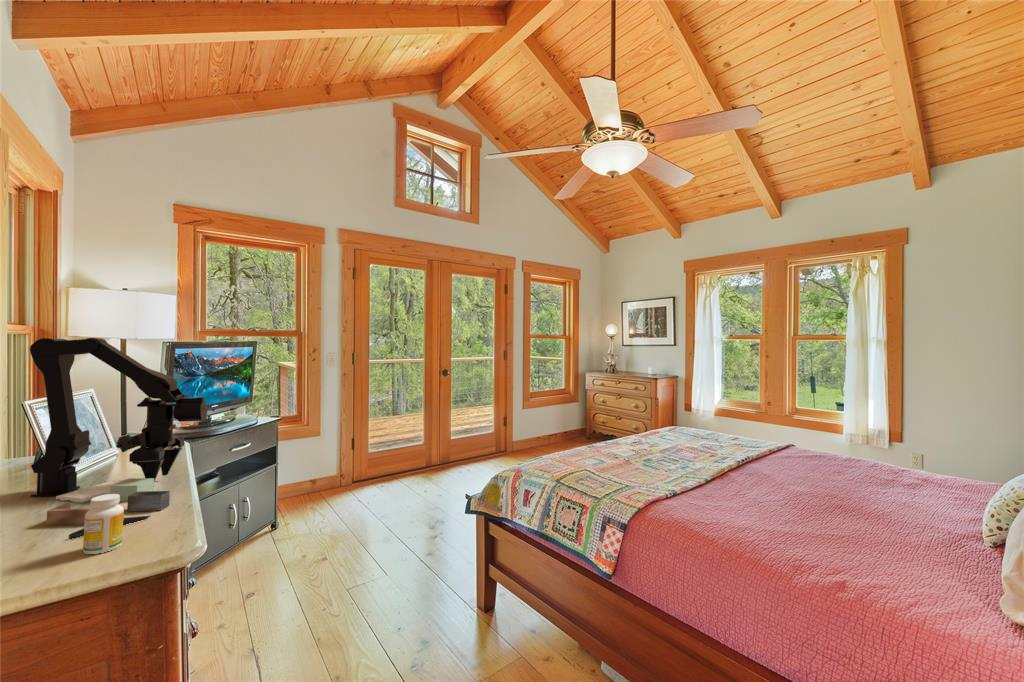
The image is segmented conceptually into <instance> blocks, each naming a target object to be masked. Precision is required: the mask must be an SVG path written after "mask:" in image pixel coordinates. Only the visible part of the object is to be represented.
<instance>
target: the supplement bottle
mask: <svg viewBox="0 0 1024 682" xmlns="http://www.w3.org/2000/svg"><path fill="white" fill-rule="evenodd" d="M120 502H121V501H120V495H119V494H106V495H101V496H97V497H94V498H92V499H91V500H90V508H92V509H91V510H89V511H88V512H87V513H86V514H85V522H84V524H83V525H84V527H83V528H84V536H83V542H82V552H83V553H84V554H85V555H88V554H95V555H100V554H99V553H101V554H105V553H104V552H106V553H108V552H107V551H109V552H112V551H115V550H116V549H118V548H120V547H121V545H122V544H123V535H124V534H123V533H124V532H123V530H124V529H123V528H124V526H123V520H124V519H123V518H124V516H125V514H124V513H125V512H124V510H125V509H124V507H123V506H122V505H120V504H119V503H120ZM119 546H120V547H119ZM111 550H112V551H111Z"/></svg>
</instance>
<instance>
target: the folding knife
mask: <svg viewBox="0 0 1024 682" xmlns="http://www.w3.org/2000/svg"><path fill="white" fill-rule="evenodd" d="M149 518H151V515H142V516H131V517H123V525H125V526H127V525H126V524H129V523H133V524H135V523H134V522H137V521H141V520H144V521H146V520H148V519H149ZM145 519H146V520H145ZM141 522H142V521H141ZM137 523H138V522H137ZM129 525H130V524H129ZM83 535H84V527H83V528H81V529H79V530H76V531H74V532H72V533H69V534H68V540H69V539H71V540H73V539H72V538H74V539H77V538H76V537H78V538H81V537H80V536H82V537H84V536H83Z"/></svg>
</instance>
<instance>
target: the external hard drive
mask: <svg viewBox="0 0 1024 682" xmlns="http://www.w3.org/2000/svg"><path fill="white" fill-rule="evenodd" d="M119 482H120V481H117V480H111V481H108V482H103V483H100V484H95V485H93V486H92V485H91V486H89V487H85V488H81V489H76V490H73V491H70V492H68V493H65V494H62V495H59V496H55V500H56V499H60V500H59V501H64V500H69V501H70V502H75V503H84V502H88V501H91V499H92V498H94V497H97V496H101V495H106V494H110V486H111V485H114V484H116V483H119Z"/></svg>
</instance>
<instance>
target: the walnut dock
mask: <svg viewBox="0 0 1024 682" xmlns="http://www.w3.org/2000/svg"><path fill="white" fill-rule="evenodd" d="M71 507H72V505H71V502H67V503H63V504H61V505H58V506H55V507H54V508H51V509H49V510H47V511H46V526H67V525H69V526H70V525H72V524H76V525H84V522H85V514H86V513H87V512H88V511H89V510H91V509H92V508H91V507H89V508H71Z"/></svg>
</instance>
